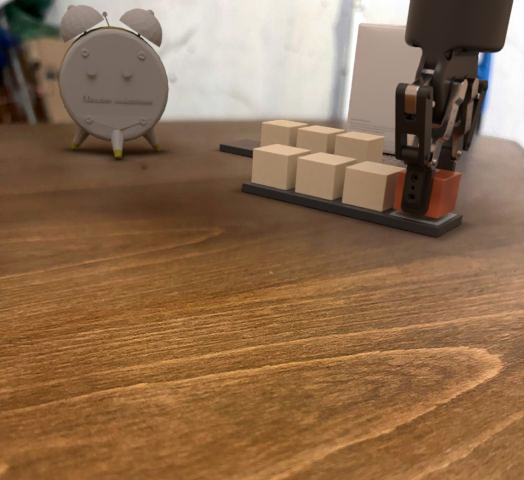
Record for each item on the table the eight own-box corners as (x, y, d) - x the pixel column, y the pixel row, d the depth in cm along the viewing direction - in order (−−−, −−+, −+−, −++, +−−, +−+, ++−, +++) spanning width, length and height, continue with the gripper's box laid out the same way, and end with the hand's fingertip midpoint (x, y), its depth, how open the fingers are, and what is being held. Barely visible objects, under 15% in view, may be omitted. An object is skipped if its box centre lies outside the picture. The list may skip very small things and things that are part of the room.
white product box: (407, 158, 84) (427, 27, 78) (342, 147, 88) (356, 22, 81) (428, 148, 92) (449, 27, 85) (368, 139, 95) (382, 23, 89)
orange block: (412, 201, 60) (418, 164, 58) (454, 210, 58) (462, 172, 56) (392, 209, 57) (398, 170, 55) (437, 219, 55) (444, 179, 53)
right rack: (274, 182, 69) (277, 142, 67) (461, 223, 59) (470, 178, 57) (241, 191, 64) (243, 148, 63) (436, 237, 55) (445, 188, 53)
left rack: (246, 145, 86) (248, 112, 84) (387, 172, 76) (392, 136, 74) (219, 150, 82) (220, 116, 80) (364, 180, 72) (369, 142, 70)
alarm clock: (165, 149, 81) (164, 9, 74) (171, 161, 75) (170, 10, 68) (65, 147, 78) (54, 2, 71) (62, 159, 72) (51, 3, 65)
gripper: (481, -27, 42) (433, 235, 50) (541, -13, 53) (494, 202, 61) (375, -30, 46) (346, 214, 54) (451, -16, 56) (417, 186, 64)
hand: (424, 206), depth 57 cm, fingers closed on orange block, 4 cm apart
